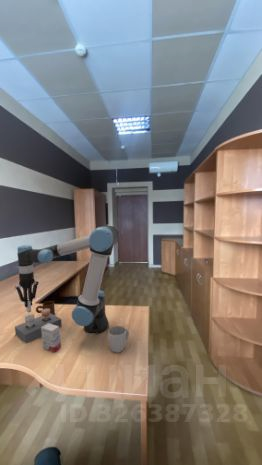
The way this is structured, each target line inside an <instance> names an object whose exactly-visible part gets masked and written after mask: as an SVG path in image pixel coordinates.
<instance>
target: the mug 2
mask: <svg viewBox="0 0 262 465" xmlns="http://www.w3.org/2000/svg"><path fill="white" fill-rule="evenodd" d="M107 330H108V331H107V332H108V333H107V336H108V337H107V338H108V344H109V345H108V346H109V348H110V350H111V351H112V352H113V353H120V352H121V353H122V352H123V351H124V350H125V348H126V342H127V340H128V339H129V337H130V331H129V330H128V329H127V328H125V327H124V326H122V325H114V326H111V327H110V328H108V329H107Z"/></svg>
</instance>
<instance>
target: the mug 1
mask: <svg viewBox="0 0 262 465" xmlns="http://www.w3.org/2000/svg"><path fill="white" fill-rule="evenodd" d="M47 308H49V309H50V313H51V314H53V315H55V316H56V314H55V313H56V312H55V311H56V310H55V302H54V301H51V300H49V301H45V302H43V303H42V305H38V306H36V308H35V312H36V313H37V314H42V310H43V309H47Z"/></svg>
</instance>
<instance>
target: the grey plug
mask: <svg viewBox="0 0 262 465" xmlns="http://www.w3.org/2000/svg"><path fill="white" fill-rule="evenodd" d="M35 318H36V317H35V314H30V313H29V314H27V315H26V316H24V320H25V321H24V323H25V322H26V323H27V325H28V329H29V328H32V327H33V321H34V320H35Z"/></svg>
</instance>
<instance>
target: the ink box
mask: <svg viewBox="0 0 262 465" xmlns="http://www.w3.org/2000/svg"><path fill="white" fill-rule="evenodd" d="M41 331H42V336H41V340H42V348H43V349H45V350H47V351H50V352H52V353H53V352H54V353H56V352H57V351H58V350H59V349H60V348H61V347H62V344H61V334H60V328H59V326H56V325H53V324H50V323H48V324H46V325H44V326H42V327H41Z"/></svg>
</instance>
